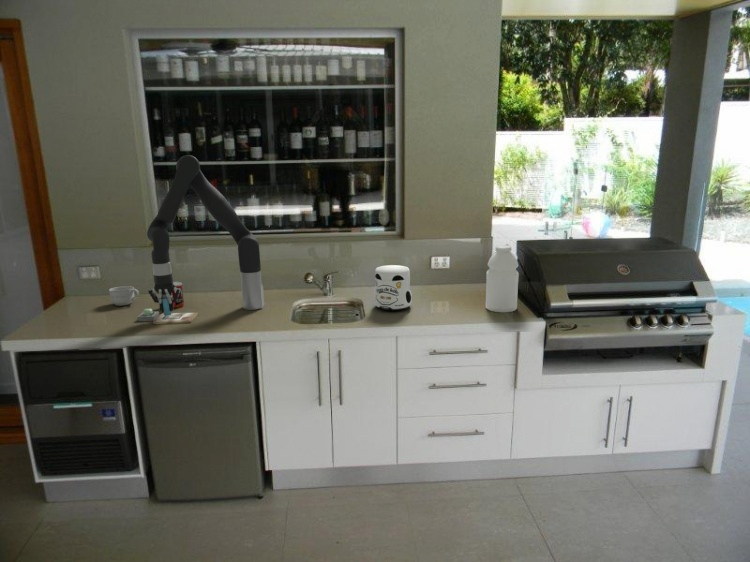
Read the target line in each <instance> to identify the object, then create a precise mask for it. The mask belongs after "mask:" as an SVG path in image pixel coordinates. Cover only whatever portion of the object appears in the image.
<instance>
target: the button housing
mask: <svg viewBox="0 0 750 562" xmlns="http://www.w3.org/2000/svg"><path fill="white" fill-rule="evenodd" d="M152 312H153V315H152V316H144V312H143V311H142V312H141V313H140V314H139V315H138V316H137V317H136V319H137V322H154V321H155V320H156V319H157V318H158V317H159V316H160V315H161V314H160V310H159V311H158V310H157V311H152Z"/></svg>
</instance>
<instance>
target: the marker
mask: <svg viewBox="0 0 750 562" xmlns="http://www.w3.org/2000/svg"><path fill="white" fill-rule="evenodd" d="M162 302H163V310H164V312H163V314H164V315H165V316H169V315H171V313H172V312H170V309H169V300H168V299H167V295H162Z"/></svg>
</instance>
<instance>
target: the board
mask: <svg viewBox="0 0 750 562" xmlns="http://www.w3.org/2000/svg"><path fill="white" fill-rule="evenodd" d="M159 315H160V316H159V317H158V318H157V319H156V320H155V321H152V324H153V325H167V324H170V325H171V324H192V323H193V321H195V319H197V317H198V315H199V312H173V313H172V312H171V315H169V316H165V315H164V313H161V314H159Z"/></svg>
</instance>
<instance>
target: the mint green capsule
mask: <svg viewBox="0 0 750 562" xmlns="http://www.w3.org/2000/svg"><path fill="white" fill-rule="evenodd" d="M142 312H144V316H152V315H153V312H154V311H153V309H152V308H145V309H143V310H142Z"/></svg>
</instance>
